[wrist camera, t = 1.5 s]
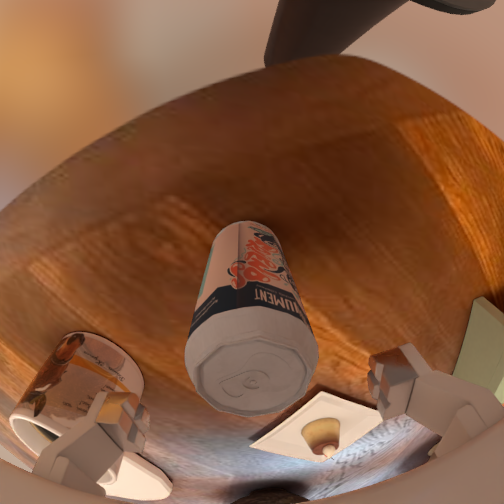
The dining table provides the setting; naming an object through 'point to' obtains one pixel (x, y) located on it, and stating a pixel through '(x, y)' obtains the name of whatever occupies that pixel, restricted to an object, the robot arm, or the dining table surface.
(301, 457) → the dessert
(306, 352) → the beer can
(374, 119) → the dining table surface
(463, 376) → the shelf
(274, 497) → the vase
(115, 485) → the decorative plate
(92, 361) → the mug
